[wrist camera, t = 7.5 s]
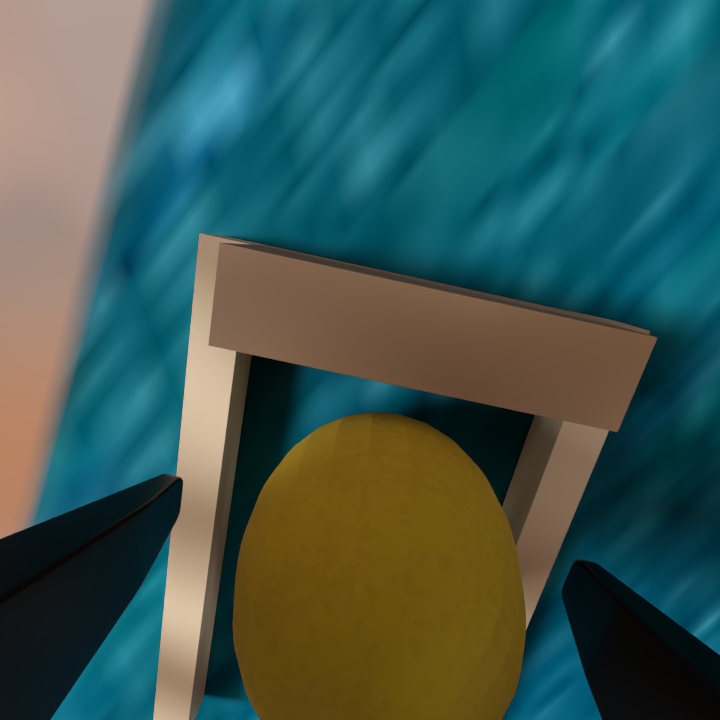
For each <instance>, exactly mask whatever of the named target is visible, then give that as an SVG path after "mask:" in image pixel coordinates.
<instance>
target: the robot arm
mask: <svg viewBox="0 0 720 720" xmlns="http://www.w3.org/2000/svg"><path fill="white" fill-rule="evenodd" d="M182 491H183V479H182V478H181V477H178V476H174V475H169V474H162V475H159V476H157V477H154V478H152V479H149V480H147V481H144V482H142V483H139V484H137V485H134V486H132V487H129V488H127V489H124V490H122V491H119V492H117V493H114V494H112V495H109V496H107V497H104V498H102V499H99V500H97V501H94V502H92V503H89V504H87V505H84V506H82V507H79V508H77V509H74V510H72V511H69V512H67V513H64V514H62V515H59V516H57V517H54V518H52V519H49V520H47V521H44V522H42V523H39V524H37V525H34V526H32V527H29V528H27V529H24V530H22V531H19V532H17V533H14V534H12V535H9V536H7V537H4V538H2V539H0V720H50V719H51V718H52V717H53V715H54V714H55V712H56V711H57V709H58V708H59V706H60V705H61V703H62V702H63V700H64V699H65V697H66V696H67V694H68V693H69V691H70V690H71V689H72V687H73V686H74V684H75V683H76V681H77V680H78V678H79V677H80V675H81V674H82V672H83V671H84V669H85V668H86V666H87V665H88V664H89V662H90V661H91V659H92V658H93V656H94V655H95V653H96V652H97V650H98V649H99V647H100V646H101V644H102V643H103V641H104V640H105V639H106V637H107V636H108V634H109V633H110V631H111V630H112V628H113V627H114V625H115V624H116V622H117V621H118V619H119V618H120V616H121V615H122V614H123V612H124V611H125V609H126V608H127V606H128V605H129V603H130V602H131V600H132V599H133V597H134V596H135V594H136V593H137V591H138V590H139V588H140V587H141V585H142V583H143V582H144V580H145V578H146V576H147V574H148V573H149V571H150V569H151V567H152V565H153V563H154V562H155V560H156V558H157V556H158V554H159V552H160V551H161V549H162V547H163V545H164V543H165V541H166V539H167V538H168V536H169V534H170V532H171V530H172V528H173V526H174V525H175V523H176V521H177V519H178V516H179V513H180V509H181V500H182ZM562 599H563V603H564V606H565V609H566V613H567V616H568V620H569V623H570V626H571V630H572V633H573V637H574V640H575V643H576V647H577V650H578V654H579V657H580V660H581V664H582V667H583V670H584V673H585V676H586V679H587V681H588V684H589V687H590V689H591V692H592V695H593V697H594V700H595V702H596V705H597V707H598V710H599V713H600V715H601V718H602V720H720V655H719V654H717V653H716V652H715V651H713V650H712V649H711V648H709V647H708V646H707V645H705V644H704V643H703V642H701V641H700V640H699V639H697V638H696V637H695V636H693V635H692V634H691V633H689V632H688V631H687V630H685V629H684V628H683V627H681V626H680V625H679V624H677V623H676V622H675V621H673V620H672V619H670V618H669V617H668V616H666V615H665V614H664V613H662V612H661V611H660V610H658V609H657V608H656V607H654V606H653V605H652V604H650V603H649V602H648V601H646V600H645V599H644V598H642V597H641V596H640V595H638V594H637V593H636V592H634V591H633V590H632V589H630V588H629V587H628V586H626V585H625V584H624V583H622V582H621V581H620V580H618V579H617V578H616V577H614V576H613V575H612V574H610V573H609V572H608V571H606V570H605V569H604V568H602V567H601V566H600V565H598V564H597V563H594V562H590V561H585V560H580V559H579V560H576V561H575V562H574V563H573V564H572V567H571V569H570V571H569V573H568V576H567V578H566V580H565V583H564V585H563V588H562Z"/></svg>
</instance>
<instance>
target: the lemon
mask: <svg viewBox="0 0 720 720" xmlns="http://www.w3.org/2000/svg"><path fill="white" fill-rule="evenodd" d="M525 635H526V609H525V599H524V591H523V584H522V579H521V573H520V567H519V561H518V556H517V551H516V546H515V541H514V538H513V534H512V531H511V527H510V525H509V522H508V520H507V517H506V515H505V513H504V511H503V509H502V507H501V505H500V503H499V501H498V499H497V497H496V495H495V493H494V491H493V489H492V487H491V485H490V483H489V482H488V480H487V478H486V476H485V475H484V473H483V472H482V471H481V469H480V468H479V467H478V466H477V465H476V464H475V463H474V462H473V461H472V459H471V458H470V457H469V456H468V455H467V454H466V453H465V452H464V451H463V450H462V449H461V448H460V447H459V446H458V445H457V444H456V442H455V441H453V440H452V439H450V438H449V437H448V436H446V435H444V434H443V433H441V432H440V431H438V430H436V429H435V428H433V427H432V426H430V425H428V424H427V423H424V422H421V421H418V420H415V419H412V418H409V417H406V416H403V415H400V414H393V413H381V412H369V413H362V414H356V415H349V416H345V417H343V418H340V419H338V420H335V421H333V422H330V423H328V424H325V425H323V426H321V427H319V428H318V429H316V430H315V431H314V432H312V433H311V434H310V435H308V436H307V437H306V438H304V439H303V440H302V441H300V442H299V443H298V444H296V445H295V446H294V447H293V448H292V449H291V450H290V451H289V452H288V453H287V455H286V456H285V457H284V459H283V460H282V461H281V463H280V464H279V465H278V466H277V468H276V469H275V470H274V472H273V473H272V474H271V476H270V477H269V478H268V480H267V481H266V483H265V485H264V486H263V488H262V490H261V492H260V494H259V497H258V499H257V502H256V504H255V507H254V509H253V512H252V514H251V517H250V520H249V522H248V525H247V527H246V530H245V533H244V536H243V539H242V543H241V547H240V551H239V556H238V561H237V569H236V577H235V592H234V608H233V639H234V648H235V652H236V656H237V660H238V664H239V668H240V672H241V676H242V680H243V684H244V688H245V691H246V694H247V696H248V698H249V700H250V702H251V704H252V706H253V708H254V710H255V712H256V714H257V715H258V717H259V719H260V720H502V718H503V717H504V715H505V713H506V711H507V709H508V707H509V705H510V703H511V701H512V699H513V697H514V695H515V693H516V689H517V685H518V681H519V678H520V674H521V667H522V660H523V654H524V647H525Z"/></svg>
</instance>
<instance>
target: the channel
mask: <svg viewBox="0 0 720 720" xmlns="http://www.w3.org/2000/svg"><path fill="white" fill-rule="evenodd" d="M649 334H650V331H649V330H645V329H642V328H638V327H635V326H631V325H628V324H624V323H621V322H617V321H614V320H609V319H605V318H600V317H595V316H591V315H586V314H582V313H577V312H572V311H568V310H563V309H559V308H554V307H549V306H545V305H540V304H536V303H531V302H526V301H522V300H517V299H513V298H508V297H503V296H499V295H494V294H490V293H485V292H480V291H476V290H471V289H467V288H462V287H457V286H453V285H448V284H443V283H439V282H434V281H430V280H425V279H420V278H416V277H411V276H407V275H402V274H397V273H393V272H388V271H384V270H379V269H374V268H370V267H365V266H361V265H356V264H351V263H347V262H342V261H338V260H333V259H328V258H324V257H319V256H315V255H310V254H305V253H301V252H296V251H292V250H287V249H282V248H278V247H273V246H267V245H264V244H259V243H255V242H250V241H245V240H241V239H236V238H232V237H227V236H221V235H212V234H203V233H199V244H198V254H197V265H196V275H195V286H194V296H193V307H192V317H191V328H190V339H189V349H188V360H187V370H186V381H185V391H184V402H183V412H182V423H181V433H180V444H179V454H178V465H177V475H176V476H178V477H181V478H182V479H183V491H182V500H181V509H180V513H179V516H178V519H177V521H176V523H175V525H174V526H173V528H172V530H171V539H170V549H169V560H168V570H167V581H166V591H165V602H164V612H163V623H162V633H161V644H160V654H159V665H158V675H157V686H156V696H155V707H154V718H153V720H195V718H196V715H197V712H198V710H199V707H200V705H201V702H202V700H203V697H204V692H205V684H206V677H207V670H208V663H209V656H210V649H211V642H212V635H213V627H214V620H215V613H216V606H217V599H218V592H219V585H220V577H221V570H222V563H223V556H224V549H225V542H226V535H227V528H228V520H229V513H230V506H231V499H232V492H233V485H234V478H235V471H236V463H237V456H238V449H239V442H240V435H241V428H242V421H243V413H244V406H245V399H246V392H247V385H248V378H249V371H250V364H251V356H252V355H256V356H260V357H265V358H270V359H274V360H279V361H284V362H289V363H293V364H298V365H303V366H307V367H312V368H317V369H322V370H326V371H331V372H336V373H340V374H345V375H350V376H355V377H359V378H364V379H369V380H373V381H378V382H383V383H388V384H392V385H397V386H402V387H406V388H411V389H416V390H421V391H425V392H430V393H435V394H440V395H444V396H449V397H454V398H458V399H463V400H468V401H473V402H477V403H482V404H487V405H491V406H496V407H501V408H506V409H510V410H515V411H520V412H524V413H529V414H534V415H535V416H534V418H533V421H532V424H531V427H530V430H529V432H528V435H527V438H526V441H525V444H524V447H523V449H522V452H521V455H520V458H519V461H518V463H517V466H516V469H515V472H514V475H513V477H512V480H511V483H510V486H509V489H508V491H507V494H506V497H505V500H504V503H503V505H502V509H503V511H504V513H505V515H506V517H507V520H508V522H509V525H510V527H511V531H512V534H513V538H514V541H515V546H516V551H517V556H518V561H519V567H520V573H521V579H522V584H523V591H524V599H525V609H526V629H527V627H528V624H529V622H530V619H531V617H532V615H533V612H534V610H535V607H536V605H537V603H538V600H539V598H540V595H541V593H542V591H543V588H544V586H545V583H546V581H547V579H548V576H549V574H550V571H551V569H552V567H553V564H554V562H555V559H556V557H557V555H558V552H559V550H560V547H561V545H562V543H563V540H564V538H565V535H566V533H567V531H568V528H569V526H570V523H571V521H572V519H573V516H574V514H575V511H576V509H577V507H578V504H579V502H580V499H581V497H582V495H583V492H584V490H585V487H586V485H587V483H588V480H589V478H590V475H591V473H592V471H593V468H594V466H595V463H596V461H597V459H598V456H599V454H600V451H601V449H602V447H603V444H604V442H605V439H606V437H607V435H608V432H609V431H614V432H618V430H619V428H620V425H621V423H622V421H623V418H624V416H625V414H626V411H627V409H628V406H629V404H630V402H631V399H632V397H633V395H634V392H635V390H636V388H637V385H638V383H639V380H640V378H641V376H642V373H643V371H644V369H645V366H646V364H647V362H648V359H649V357H650V354H651V352H652V350H653V347H654V345H655V343H656V340H657V337H654V336H651V335H649Z"/></svg>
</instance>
